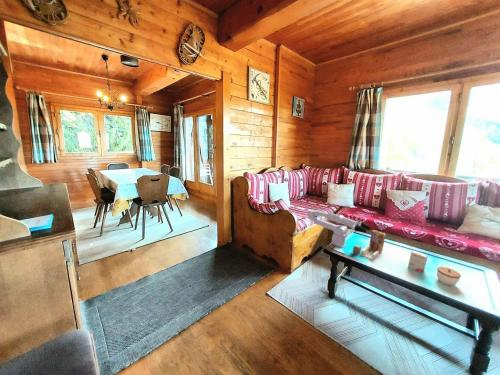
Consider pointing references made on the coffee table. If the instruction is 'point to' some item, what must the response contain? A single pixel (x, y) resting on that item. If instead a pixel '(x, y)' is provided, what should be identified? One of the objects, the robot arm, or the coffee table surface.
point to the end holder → (370, 254)
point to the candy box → (377, 241)
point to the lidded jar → (448, 276)
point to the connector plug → (356, 250)
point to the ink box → (417, 261)
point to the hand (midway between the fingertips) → (368, 230)
